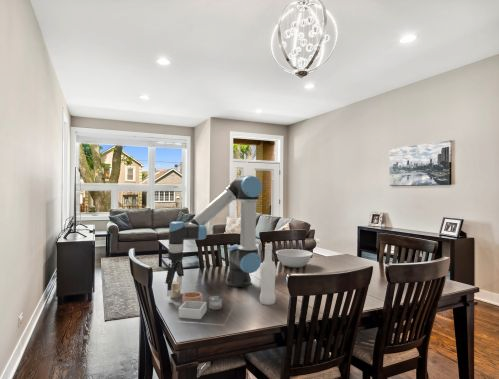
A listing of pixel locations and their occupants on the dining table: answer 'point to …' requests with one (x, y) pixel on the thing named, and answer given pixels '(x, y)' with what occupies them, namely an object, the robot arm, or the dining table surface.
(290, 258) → the bowl
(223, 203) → the robot arm
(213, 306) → the tin
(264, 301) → the bottle
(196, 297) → the terracotta cup
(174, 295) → the block
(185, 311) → the tray white
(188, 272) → the dining table surface
